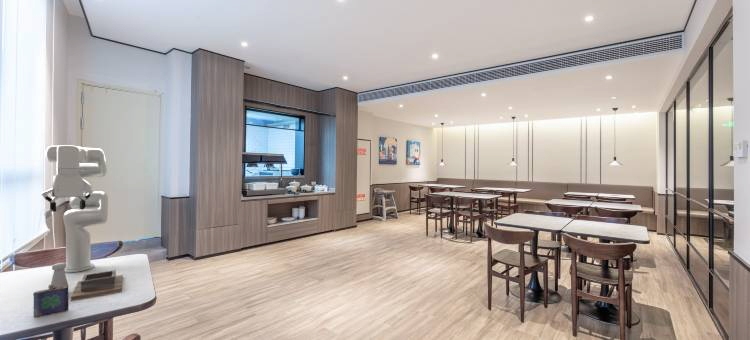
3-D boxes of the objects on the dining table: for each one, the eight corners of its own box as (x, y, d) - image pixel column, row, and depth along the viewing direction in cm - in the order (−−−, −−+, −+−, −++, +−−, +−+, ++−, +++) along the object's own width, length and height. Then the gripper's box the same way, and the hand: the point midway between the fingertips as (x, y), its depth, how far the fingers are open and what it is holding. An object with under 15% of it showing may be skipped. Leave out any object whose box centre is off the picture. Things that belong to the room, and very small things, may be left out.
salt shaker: (56, 297, 135) (56, 265, 135) (45, 296, 136) (45, 265, 136) (72, 292, 141) (72, 261, 141) (61, 290, 142) (61, 261, 142)
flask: (32, 318, 116) (32, 288, 116) (34, 315, 119) (34, 285, 119) (68, 311, 122) (68, 282, 122) (69, 308, 125) (69, 280, 124)
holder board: (78, 284, 149) (78, 272, 149) (122, 277, 159) (122, 266, 159) (70, 300, 132) (70, 287, 132) (121, 291, 141) (121, 279, 141)
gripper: (89, 172, 158) (89, 208, 158) (39, 172, 143) (39, 211, 143) (95, 172, 154) (95, 208, 154) (44, 172, 139) (44, 212, 139)
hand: (68, 210), depth 148 cm, fingers open, 9 cm apart
